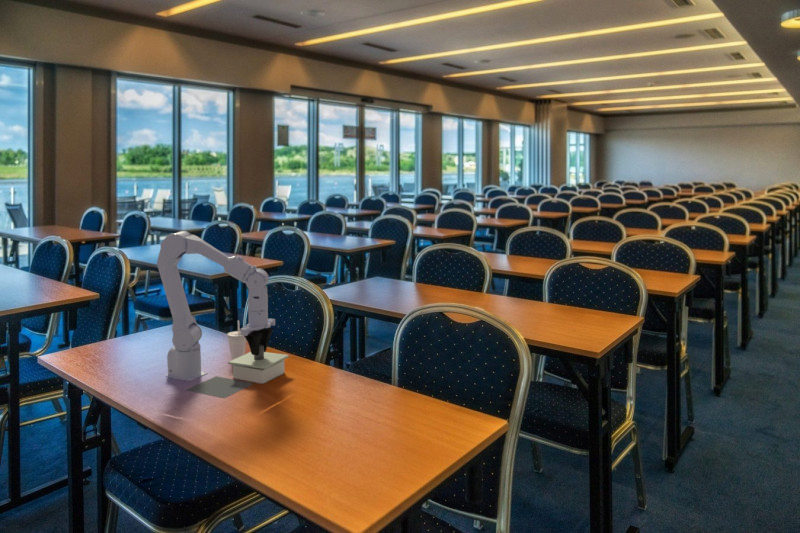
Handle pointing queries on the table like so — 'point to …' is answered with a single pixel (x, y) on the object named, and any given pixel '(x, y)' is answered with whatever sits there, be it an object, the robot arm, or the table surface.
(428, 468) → the table surface
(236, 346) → the smoothie
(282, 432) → the table surface
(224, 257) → the robot arm
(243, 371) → the dish
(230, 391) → the mat
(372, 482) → the table surface
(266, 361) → the lid
